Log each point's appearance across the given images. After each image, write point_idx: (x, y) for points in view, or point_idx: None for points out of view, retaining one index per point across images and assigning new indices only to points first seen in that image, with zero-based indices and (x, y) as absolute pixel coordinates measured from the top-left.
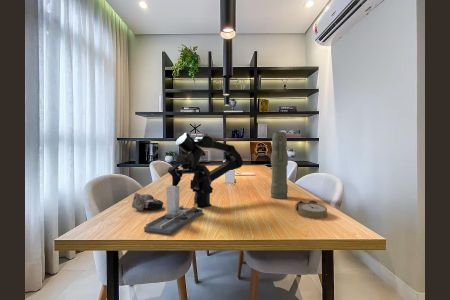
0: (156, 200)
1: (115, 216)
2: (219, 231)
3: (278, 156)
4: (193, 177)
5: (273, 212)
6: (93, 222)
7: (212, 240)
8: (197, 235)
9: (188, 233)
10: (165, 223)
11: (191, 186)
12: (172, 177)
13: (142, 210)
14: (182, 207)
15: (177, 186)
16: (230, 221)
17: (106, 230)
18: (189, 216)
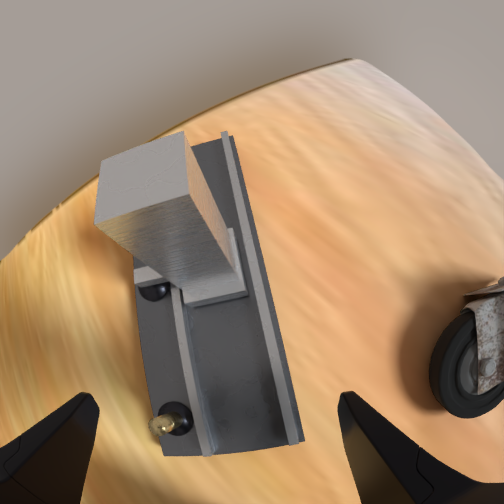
0: (485, 384)
1: (464, 189)
2: (38, 276)
3: None
4: (20, 466)
5: None
6: (439, 128)
7: (43, 217)
8: (75, 217)
9: None
10: None
11: (73, 398)
12: (458, 477)
13: (465, 294)
14: (287, 433)
15: (100, 203)
16: (39, 376)
17: (343, 105)
18: (147, 319)
